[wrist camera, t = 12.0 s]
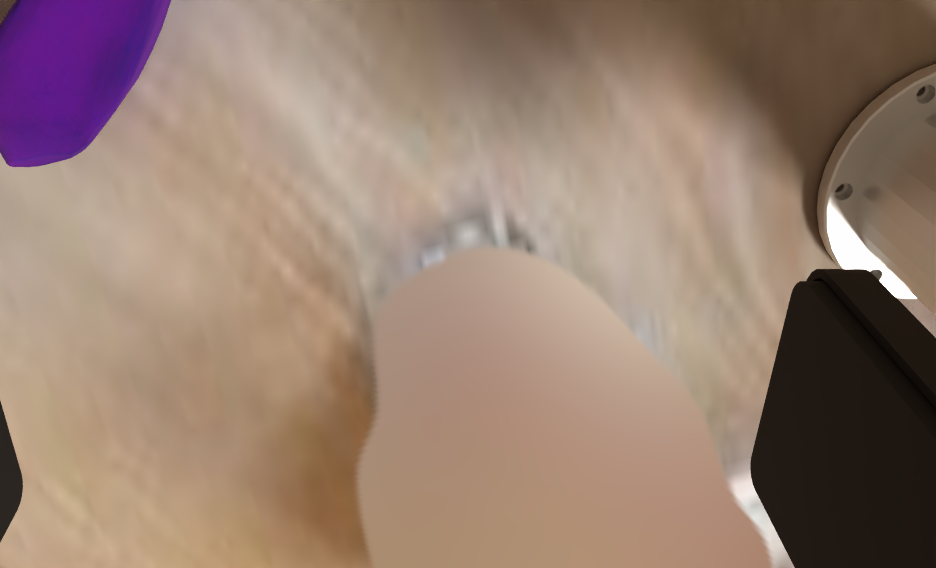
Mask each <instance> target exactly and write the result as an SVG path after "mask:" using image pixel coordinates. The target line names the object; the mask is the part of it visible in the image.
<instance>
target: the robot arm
mask: <svg viewBox="0 0 936 568" xmlns="http://www.w3.org/2000/svg"><path fill="white" fill-rule="evenodd" d="M817 218H818V226H819V233H820V235H821V238H822V241H823V243H824V246H825V248H826V251H827V252H828V254H829V255H830V256H831V258H832V259H833V261H834V262H835V263H836V265H837V266H838V267H839V268H840V269H816V270H815V271H813V272H812V273H811V274H810V276H809V277H808V279H807V281H800V282H798V283H797V284H796V285H795V287H794V288H793V291H792V294H791V298H790V302H789V306H788V310H787V314H786V318H785V322H784V326H783V330H782V334H781V338H780V342H779V346H778V351H777V355H776V359H775V363H774V367H773V371H772V375H771V379H770V383H769V387H768V391H767V395H766V399H765V403H764V408H763V412H762V416H761V420H760V424H759V428H758V432H757V436H756V440H755V444H754V448H753V452H752V457H751V478H752V482H753V485H754V488H755V490H756V492H757V494H758V496H759V498H760V500H761V502H762V504H763V506H764V508H765V510H766V512H767V514H768V516H769V518H770V520H771V522H772V524H773V526H774V528H775V530H776V532H777V534H778V536H779V538H780V539H781V541H782V543H783V545H784V547H785V549H786V551H787V553H788V555H789V557H790V559H791V561H792V563H793V565H794V567H795V568H936V338H935V337H934V336H933V335H932V334H931V333H930V332H929V331H928V330H927V329H926V328H925V327H924V326H923V325H922V324H921V323H920V322H919V321H918V320H917V318H916V317H915V316H914V315H913V314H912V313H911V312H910V311H909V310H908V309H907V308H906V307H905V306H904V305H903V304H902V303H901V302H900V301H899V300H898V299H897V298H899V299H918V300H919V301H920V302H921V303H922V304H923V305H924V306H925V307H926V308H927V309H928V310H929V311H930V312H932V313H933V314H934V315H935V316H936V64H933V65H931V66H928V67H926V68H923V69H920V70H918V71H916V72H914V73H912V74H911V75H909V76H907V77H905V78H904V79H902V80H900V81H898V82H897V83H895V84H893V85H892V86H891V87H889V88H888V89H887V90H886V91H884V92H883V93H882V94H881V95H879V96H878V97H877V98H875V99H874V100H873V101H872V102H870V104H869V105H868V106H867V107H866V108H865V109H864V110H863V111H862V112H861V113H860V114H859V115H858V116H857V117H856V118H855V119H854V120H853V121H852V123H851V124H850V125H849V127H848V128H847V130H846V131H845V133H844V134H843V135H842V137H841V138H840V140H839V141H838V143H837V144H836V146H835V148H834V150H833V152H832V154H831V156H830V158H829V160H828V162H827V165H826V167H825V169H824V173H823V177H822V180H821V184H820V187H819V191H818V203H817ZM22 489H23V481H22V475H21V471H20V467H19V464H18V460H17V457H16V453H15V450H14V446H13V443H12V440H11V436H10V433H9V429H8V426H7V422H6V419H5V415H4V412H3V409H2V405H1V402H0V542H1V540H2V538H3V536H4V534H5V532H6V530H7V529H8V527H9V525H10V523H11V521H12V519H13V517H14V515H15V513H16V512H17V510H18V507H19V505H20V501H21V497H22Z"/></svg>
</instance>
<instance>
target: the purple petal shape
mask: <svg viewBox="0 0 936 568" xmlns="http://www.w3.org/2000/svg"><path fill="white" fill-rule="evenodd" d="M170 2H171V0H16V1H15V3H14V4H13V6H12V7H11V9H10V10H9V12H8V14H7V15H6V17H5V18H4V20H3V21H2V23H1V24H0V153H1V154H2V156H3V158H4V160H5V161H6V164H8V165H9V166H12V167H33V166H41V165H46V164H50V163H54V162H58V161H62V160H66V159H69V158H72V157H73V156H75V155H77V154H79V153H80V152H82V151H83V150H84V149H86V148H87V147H88V146H89V145H90V143H91V142H92V141H93V140H94V139H95V137H96V136H97V135H98V133H99V132H100V131H101V129H102V128H103V127H104V126H105V124H106V123H107V122H108V120H109V119H110V118H111V116H112V115H113V114H114V112H115V111H116V109H117V108H118V107H119V105H120V104H121V102H122V101H123V99H124V98H125V96H126V95H127V93H128V92H129V91H130V89H131V88H132V86H133V85H134V84H135V82H136V81H137V79H138V78H139V76H140V74H141V72H142V70H143V68H144V66H145V64H146V62H147V60H148V58H149V56H150V54H151V52H152V50H153V47H154V45H155V43H156V40H157V38H158V36H159V33H160V31H161V29H162V26H163V23H164V20H165V17H166V14H167V11H168V8H169V5H170Z"/></svg>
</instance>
